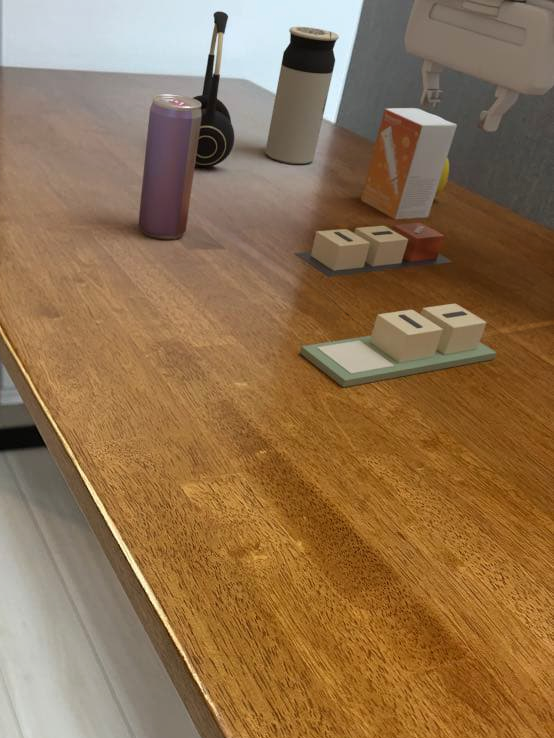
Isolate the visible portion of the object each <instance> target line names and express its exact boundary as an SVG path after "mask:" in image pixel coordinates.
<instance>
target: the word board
mask: <svg viewBox="0 0 554 738" xmlns="http://www.w3.org/2000/svg"><path fill="white" fill-rule="evenodd" d="M486 325H487V321H485V320H484V319H483V318H480V317H479V316H477V315H475V314H474V313H472V312H471V311H469V310H468V309H465V308H463V307H462V306H461V305H459V304H457V303H456V302H455V303H448V304H442V305H434V306H427V307H422V309H421V312H420V313H418V312H417V311H416V310H414V309H406V310H398V311H393V312H391V311H390V312H384V313H378V314H377V315H376V319H375V322H374V326H373V329H372V332H371V335H366V336H360V337H358V336H357V337H354V338H352V337H351V338H346V339H339V340H333V341H326V342H320V343H315V344H308V345H301V348H300V351H299V354H300V355H301V356H303V358H305V359H306V360H308V361H309V362H310V363H311V364H312V365H314V366H315V367H316V368H318V370H320V371H321V372H323V373H324V374H325V375H326V376H328V377H329V378H330V379H331V380H333V381H334V382H336V383H337V384H338V385H339V386H340V387H341V388H347V387H353V386H358V385H364V384H369V383H375V382H380V381H385V380H390V379H395V378H401V377H406V376H411V375H418V374H423V373H427V372H428V373H429V372H434V371H439V370H443V369H444V370H445V369H449V368H455V367H460V366H465V365H470V364H476V363H481V362H482V363H483V362H487V361H492V360H495V357H496V355H497V352H496V351H495V350H493V349H492V348H490V347H488V346H487V345H486V344H484V343H482V342H481V339H482V336H483V334H484V331H485V328H486Z"/></svg>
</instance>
